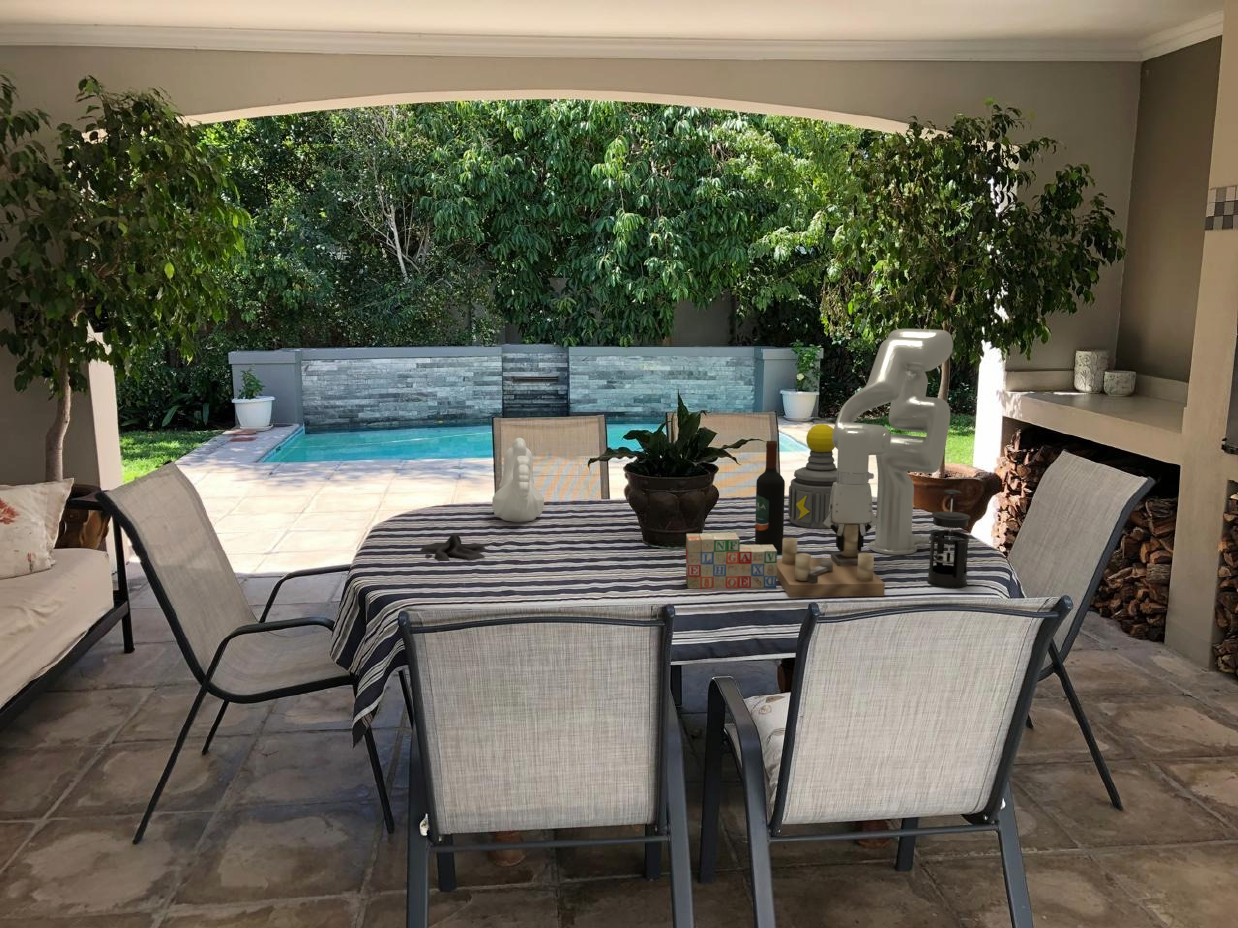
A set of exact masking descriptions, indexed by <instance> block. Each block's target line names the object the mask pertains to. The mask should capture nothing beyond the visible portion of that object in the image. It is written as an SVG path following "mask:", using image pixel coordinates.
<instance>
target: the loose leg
mask: <svg viewBox="0 0 1238 928" xmlns="http://www.w3.org/2000/svg"><path fill="white" fill-rule="evenodd" d="M858 530H859V524H844V527H843V532H842V533H843V536H844V550H843V552H840V553H841V555H843V556H847V557H854V556H857V554H858V553H859V551H858Z"/></svg>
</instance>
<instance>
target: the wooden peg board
mask: <svg viewBox="0 0 1238 928" xmlns="http://www.w3.org/2000/svg"><path fill="white" fill-rule="evenodd" d="M796 554H798V538H796V537H783V547H782V553H781V556H782V557H781V558H777V575H776V576H777V578H776V580H777V581H778V582H779V583H780V585H781V587H782V589H783V590H784V592H785V593H786V594H787V596H788V597H789V598H817V597H818V598H822V597H823V598H825V597H827V598H829V597H837V598H838V597H839V598H840V597H885V593H886V591H885V587H886V584H885V582H884V581H883V580H882V579H881V578H880V577H879V576H878V575H877V574H876V572H874V564H875V563H874V559H875V554H874V553H871V552H858V554H857V556H854V557H847V556H843V555H841V552H840V553H830V557H828V558H826V557H824V558H823V557H822V558H820V557H811V569H813V568H816V567H818V566H820V560H831V561H833V570H832V571H827V572H824V573H822V574H819V575H818V574H815V573H810V574H808V580H806V581H801V580H796V579H795V556H796Z"/></svg>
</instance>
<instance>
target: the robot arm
mask: <svg viewBox="0 0 1238 928" xmlns="http://www.w3.org/2000/svg"><path fill="white" fill-rule="evenodd" d="M953 347H954V341H953V337H952V335H951V334H950V332H948V331H947V330H944V329H943V330H942V329H932V328H931V329H924V328H898V329H894V330H892V331H891V332H890V333H889V334H888V336H887V338H886V339H884V340H883V342H881V344H880V346H879V348H878V351H877V354H876V357H875V359H874V361H873V366H872V369H871V371H870V375H869V377H868V381H867V383H866V385H865V386H864V387H862V388H861V389H860V390H858V391H857V392H856V393H854V394H853V395H852V396H851V397H850V398H849V399H848V400H846V402H844V404H843V405H842V407H841V408H840V410H839V412H838V415H837V419H836V420H835V424H834V427H833V429H834V430H833V436H832V440H833V444H834V446H835V449H836V450H837V460H836V461H837V465H836V468H837V482H834V483H833V486H832V490H831V496H830V504H829V513H828V514H827V515H826V517H825V518H824V520H823V524H824V525H826V526H828V527H829V528H831V529H830V530H832V531H833V532H834V533H835V534H836V535H835V546H836V547H835V548H837V550H838V551H839V552H840V553H841V552H843V550H844V536H843V533H842V532H843V527H844V524H859V530H858V552H862V548H864V542H865V541H864V540H865V536H866V534H867V533H868V532H869V531H870V530H871V529H872V528H873V527H875V534H874V535H875V538H874V540H873V541H870V542H869V543H868V548H869V549H870V550H871V551H873V552H875V553H879V554H885V555H894V556H895V555H896V556H899V555H900V556H901V555H911V554H914V553H916V552H917V550H918V546H917V545H918V544H930V536H928V535H927V536H925V535H924V536H923V535H922V534H921V535H920V534H919V535H918V534H916V535H915V534H914V533H913V517H914V516H913V515H914V497H915V496H914V494H915V486H914V483H913V479H912V478H911V476H910V475H909V473H908V472H913V473H923V474H934V473H936V472H938V471H939V469H940V467H941V466H942V463H943V460H944V454H945V449H946V444H947V439H948V433H949V429H950V421H951V408H950V405H949V403H948V402H947V401H946V400H945V399H943V398H939V397H929V396H927V388H928V383H929V380H928V376H927V374H926V372H930V371H933V370H934V369H936V368H938V367H939V366H941V365H943V364H944V363H945V362H947V361H948V359H949V358H950V356H951V355H952V352H953ZM889 403H890V406H889V410H888V411H889V412H888V423H889V426H890V427H891V428H893V429H895V430H897V431H898V430H899V431H904V432H913V433H924V434H926V436H919V435H910V434H901V433H900V434H898V433H890V431H889V429H888V428H887V427H885V426H883V425H879V424H870V423H861V422H855V421H856V420H857V418H859V416H861V415H862V414H863V413H865V412H867V411H869V410H872V409H874V408H878V407H880V406H883V405H886V404H889ZM869 456H875V458H876V459H875V460H876V467H877V494H876V514H874V512H873V511H874V510H873V495H872V488H871V484H870V482H869V481H870V480H873V479H875V475H874V473H871V472H870V471H869V465H870V464H869V463H870V462H869V458H870V457H869ZM831 520H833V522H834V523H836V526H835V525H834V524H832V523H831V522H830V521H831Z"/></svg>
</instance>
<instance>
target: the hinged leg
mask: <svg viewBox="0 0 1238 928" xmlns="http://www.w3.org/2000/svg"><path fill="white" fill-rule="evenodd" d="M811 558H812V554H809V553H797V554H796V556H795V579H796V580H801V581H806V580H808V574H810V573H815V574H818V575H819V574H822V573H824V572H827V571H832V570H833V561H831V560H820V566H818V567H816V568H813V569H811Z"/></svg>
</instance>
